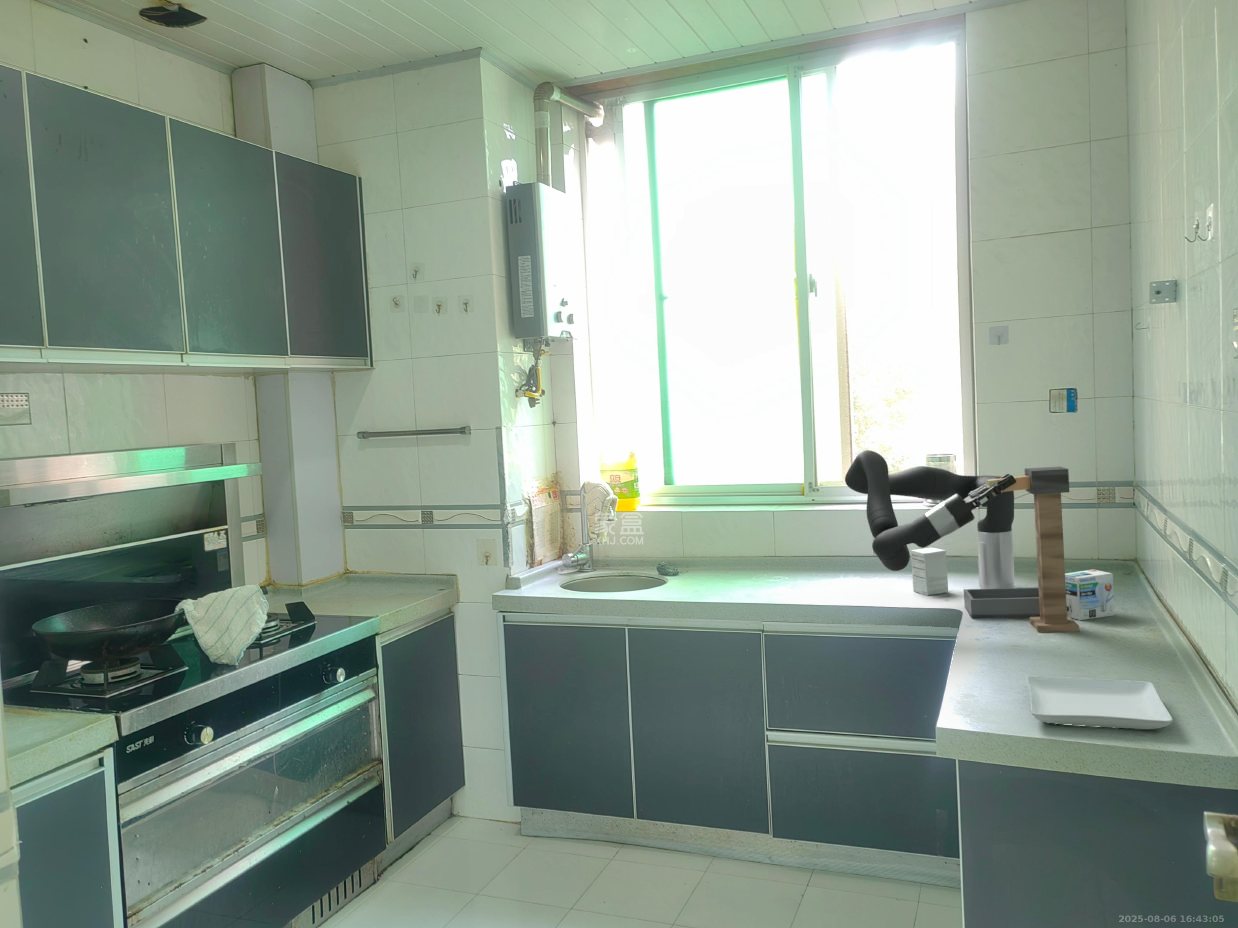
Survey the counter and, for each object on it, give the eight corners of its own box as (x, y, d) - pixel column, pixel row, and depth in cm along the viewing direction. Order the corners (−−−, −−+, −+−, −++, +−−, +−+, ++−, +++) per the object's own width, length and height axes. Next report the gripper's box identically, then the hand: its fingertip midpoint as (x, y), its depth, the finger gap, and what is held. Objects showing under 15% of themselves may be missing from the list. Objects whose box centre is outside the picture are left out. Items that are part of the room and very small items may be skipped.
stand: (1029, 622, 223) (1021, 468, 221) (1069, 622, 220) (1061, 466, 218) (1037, 631, 214) (1029, 471, 212) (1079, 631, 212) (1071, 469, 210)
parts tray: (964, 607, 244) (963, 589, 243) (1044, 605, 239) (1043, 587, 239) (971, 618, 231) (970, 599, 231) (1056, 617, 226) (1055, 597, 226)
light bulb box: (1080, 621, 221) (1078, 577, 221) (1060, 615, 228) (1058, 573, 227) (1116, 615, 224) (1114, 572, 223) (1095, 610, 230) (1093, 568, 230)
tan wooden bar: (987, 491, 220) (986, 479, 220) (1049, 485, 217) (1048, 473, 217) (990, 493, 217) (988, 480, 217) (1052, 486, 214) (1051, 474, 214)
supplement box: (934, 588, 270) (931, 546, 269) (949, 592, 263) (946, 550, 262) (912, 591, 268) (909, 549, 268) (927, 595, 261) (924, 552, 260)
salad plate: (1175, 739, 146) (1175, 718, 146) (1032, 731, 154) (1031, 711, 154) (1152, 697, 165) (1151, 679, 165) (1025, 692, 173) (1025, 675, 173)
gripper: (954, 524, 228) (1016, 487, 224) (962, 532, 214) (1027, 493, 210) (937, 500, 228) (998, 462, 224) (943, 506, 214) (1009, 466, 210)
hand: (1012, 477), depth 217 cm, fingers closed on tan wooden bar, 3 cm apart
